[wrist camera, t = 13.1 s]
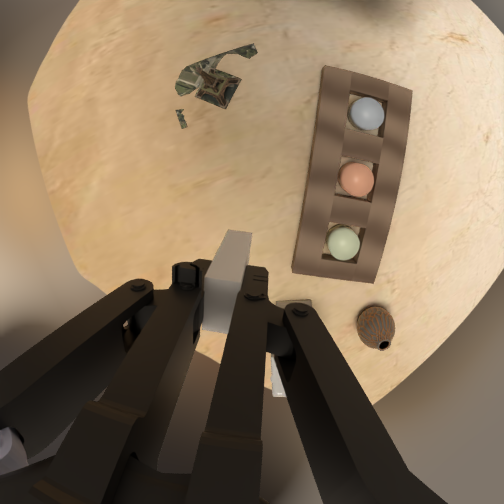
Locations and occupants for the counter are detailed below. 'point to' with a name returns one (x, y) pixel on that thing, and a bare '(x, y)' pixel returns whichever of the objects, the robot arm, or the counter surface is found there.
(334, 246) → the button sage
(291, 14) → the counter surface
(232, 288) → the robot arm
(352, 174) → the button terracotta
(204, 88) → the eiffel tower figurine
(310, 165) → the button board
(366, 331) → the vase
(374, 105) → the button slate
